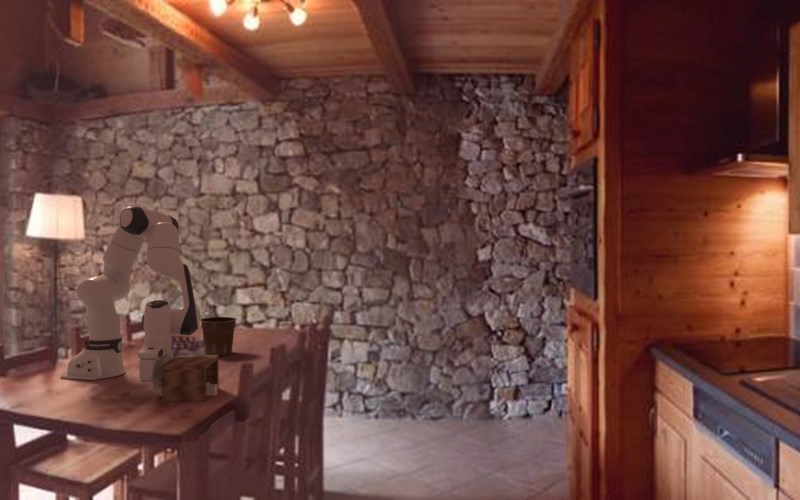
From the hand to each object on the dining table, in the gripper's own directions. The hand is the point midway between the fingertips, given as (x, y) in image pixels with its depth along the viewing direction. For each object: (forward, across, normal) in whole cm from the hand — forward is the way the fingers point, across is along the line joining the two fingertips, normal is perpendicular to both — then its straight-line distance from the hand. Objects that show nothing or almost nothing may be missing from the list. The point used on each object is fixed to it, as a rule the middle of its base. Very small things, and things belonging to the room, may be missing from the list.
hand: (157, 388), depth 195 cm
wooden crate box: (+2, 0, +11) cm, 11 cm away
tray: (+2, 0, +10) cm, 11 cm away
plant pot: (+2, -68, +1) cm, 68 cm away
